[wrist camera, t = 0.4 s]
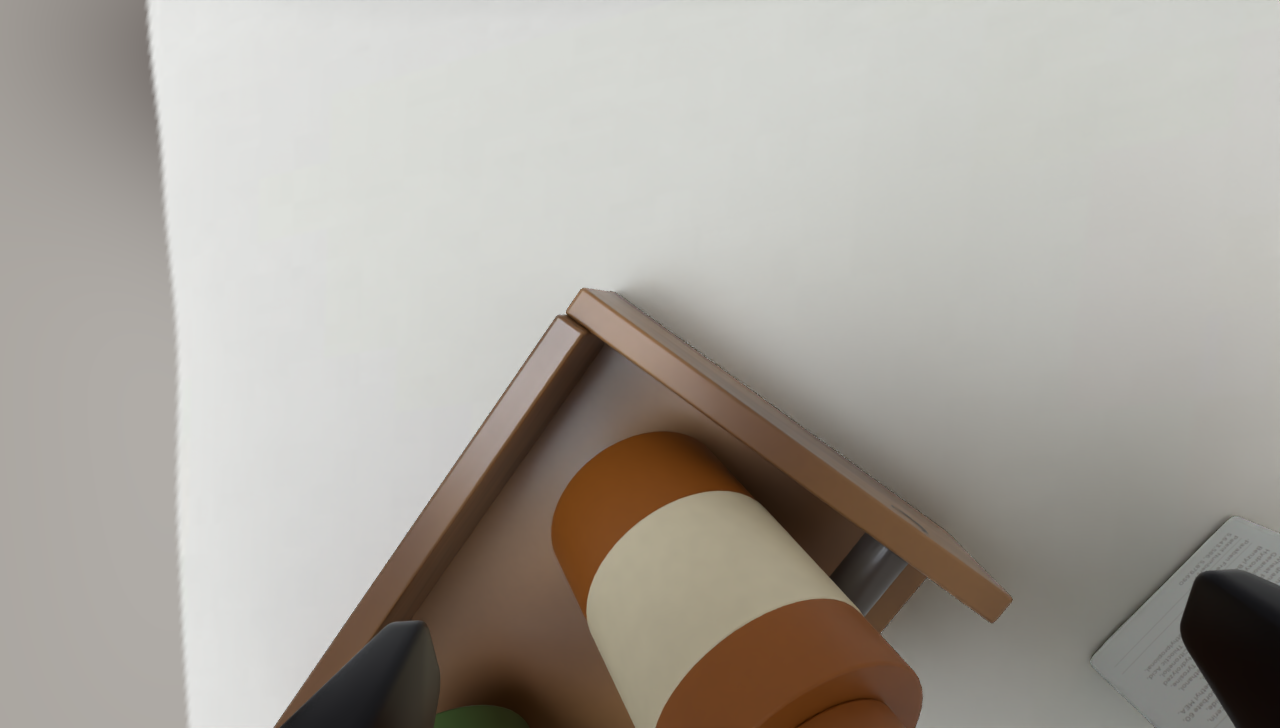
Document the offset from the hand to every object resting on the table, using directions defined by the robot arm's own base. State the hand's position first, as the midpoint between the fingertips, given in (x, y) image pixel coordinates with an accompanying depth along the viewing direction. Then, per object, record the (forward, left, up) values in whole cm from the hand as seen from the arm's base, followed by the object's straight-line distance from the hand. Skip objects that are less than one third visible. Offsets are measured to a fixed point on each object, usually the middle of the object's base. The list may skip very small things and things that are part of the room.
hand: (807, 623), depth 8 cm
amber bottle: (-2, +4, -12) cm, 13 cm away
